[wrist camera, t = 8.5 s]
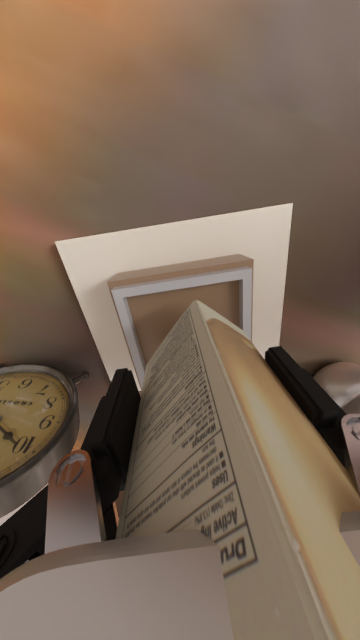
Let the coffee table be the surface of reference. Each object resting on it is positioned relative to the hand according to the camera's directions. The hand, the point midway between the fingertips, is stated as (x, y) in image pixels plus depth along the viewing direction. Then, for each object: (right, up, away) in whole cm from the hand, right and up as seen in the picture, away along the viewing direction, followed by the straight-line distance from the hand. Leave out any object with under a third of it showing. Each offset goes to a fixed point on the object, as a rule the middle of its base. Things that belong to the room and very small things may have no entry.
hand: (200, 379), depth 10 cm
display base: (-1, +4, +8) cm, 9 cm away
